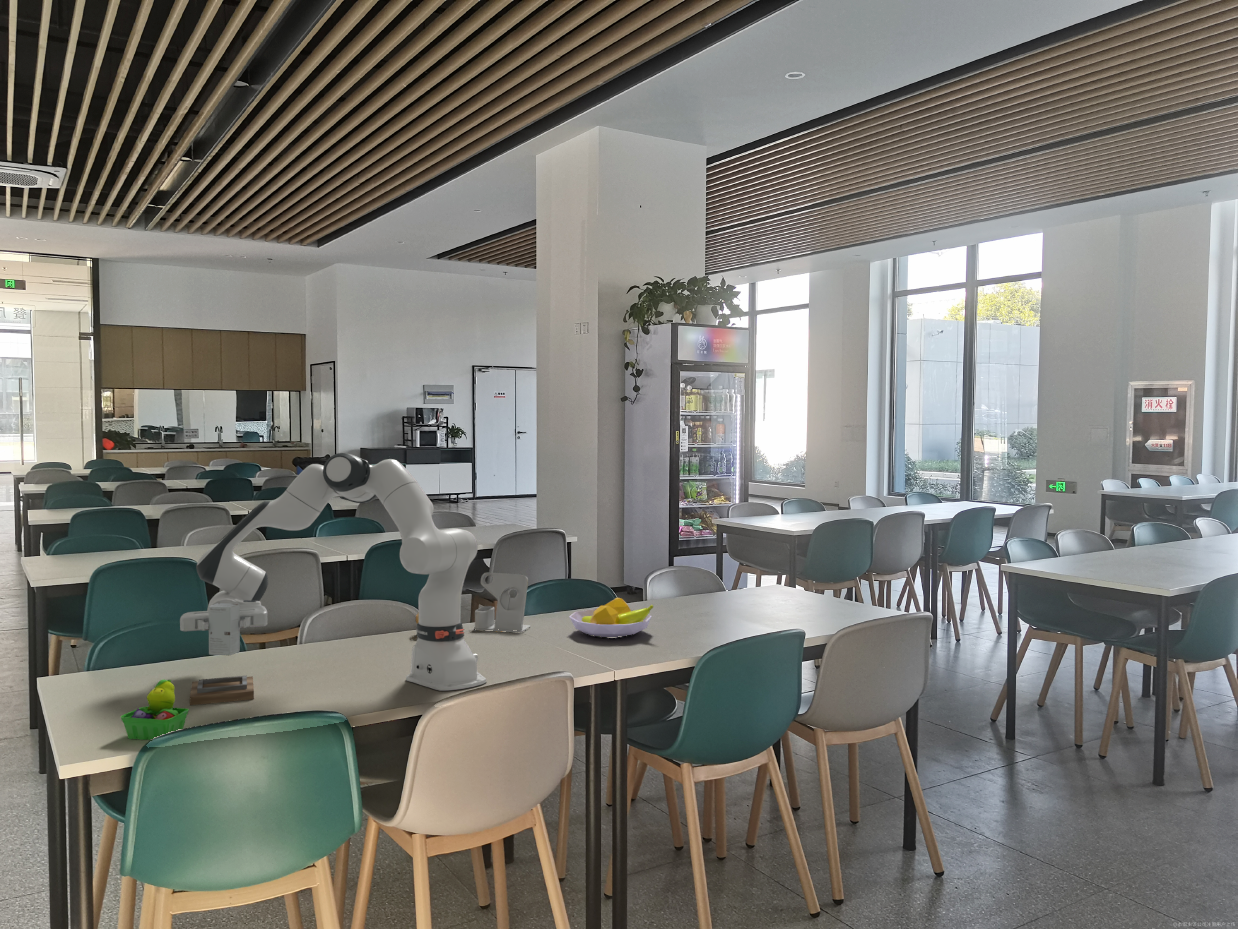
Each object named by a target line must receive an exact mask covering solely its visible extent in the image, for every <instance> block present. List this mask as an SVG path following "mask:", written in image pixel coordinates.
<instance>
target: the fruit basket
mask: <svg viewBox="0 0 1238 929" xmlns="http://www.w3.org/2000/svg"><path fill="white" fill-rule="evenodd" d="M171 681H172V680H170V679H160V680H159V681H158V682H157V683H156V685H155V686H154V688H152V689H151V690H150V692H149V693H148V694H147V696H146V700H147V703H148V706H142V707H138V708H136V709H134V710H132V711H129V712H127V713H124V714H122V715H120V718H121V722H123V726H124V728H125V731H126V734H127V735H126V736H127V738H128V739H129V740H141V741H151V740H150V739H153V738H154V737H157V736H160V735H162V734H166V733H168V732H171V731H176V730H178V729H183V730H184V727H185V723H186V720H187V715H189V710H190V709H189V708H182V707H174V704H175V701H176V696H175V685H174V684H173V683H172V682H171Z"/></svg>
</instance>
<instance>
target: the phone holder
mask: <svg viewBox="0 0 1238 929" xmlns="http://www.w3.org/2000/svg"><path fill="white" fill-rule="evenodd" d="M487 577H491V578H492V579H491V582H489V583H487V582H486V578H487ZM480 585H481V586H482V587H483V588H484V589H485V590H487V592H489V593H490V594H491V595H492V596H493V597H494V598H495V599H496V600H497V602H496V603H497V604H496V611H495V606H492V605H487V606H486V605H484V606H481V607H480V608H478V609H475V611H474V627H473V630H474V629H476V630H493V631H506V632H523V631H525V630H526V629H527V628H529V627H530V628H531V625H530V624H524V618H525V610H526V609H525V608H526V602H527V594H528V593H527V592H528V585H529V578H528V576H526V575H525V574H522V573H521V574H520V573H508V572H507V573H506V572H504V573H503V572H484V573H483V574H482V575H481V578H480ZM512 590H515V591H516V593H517V594H516V596H514V597H511V594H510V593H511V591H512ZM498 629H499V630H498ZM476 630H475V631H476ZM513 630H517V631H513ZM526 631H527V630H526ZM526 631H525V632H526ZM523 633H524V632H523Z"/></svg>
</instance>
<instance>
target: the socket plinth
mask: <svg viewBox="0 0 1238 929" xmlns="http://www.w3.org/2000/svg"><path fill="white" fill-rule="evenodd" d="M254 688H255V687H254V677H253V676H248V675H236V676H226V677H225V676H224V677H212V678H202V679H198V680H194V681H192V682H191V688H190V692H189V693H190V694H189V706H199V705H209V704H210V705H211V704H217V703H229V702H239V701H249V700H250V701H251V700H255V698H254V697H255V689H254Z"/></svg>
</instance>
